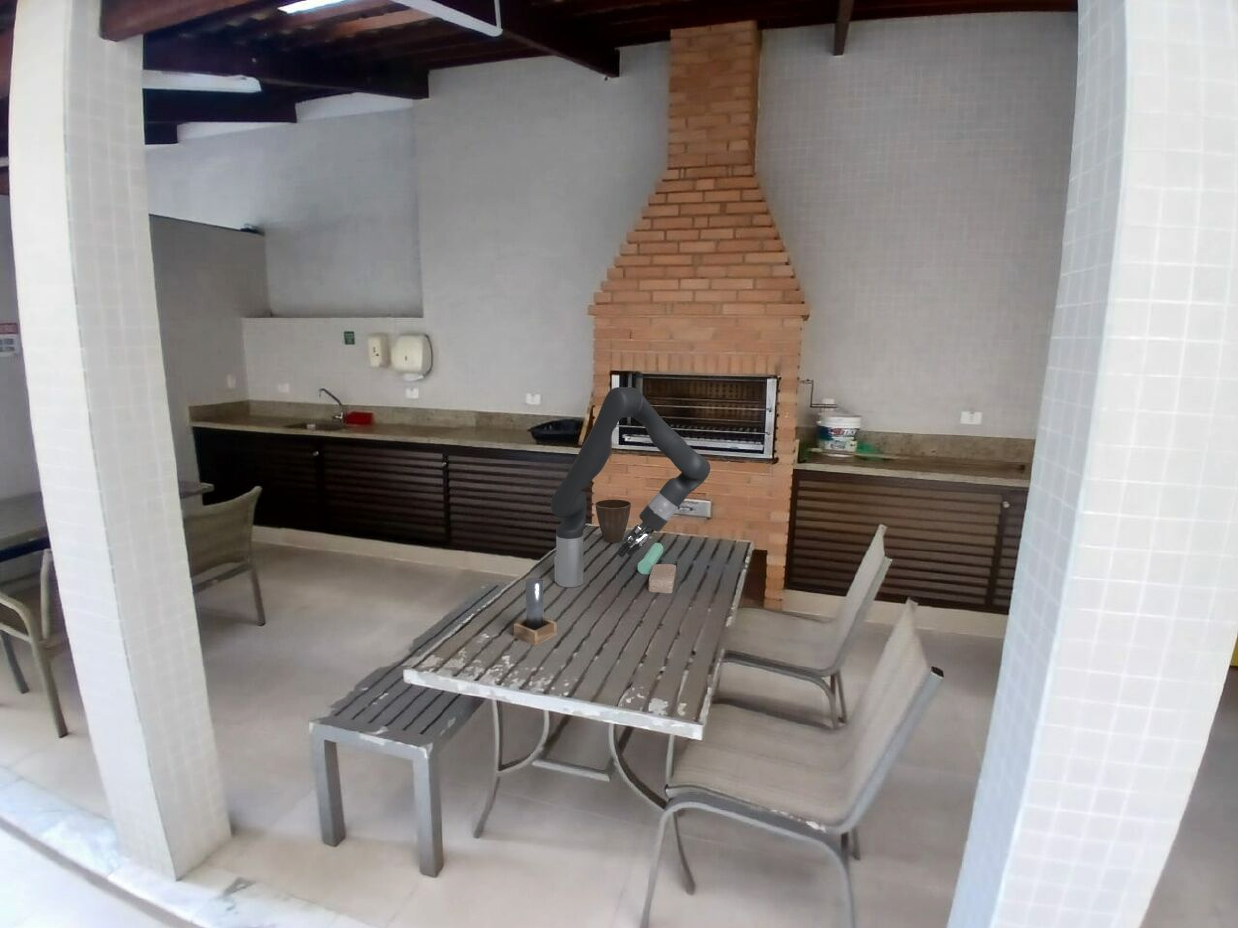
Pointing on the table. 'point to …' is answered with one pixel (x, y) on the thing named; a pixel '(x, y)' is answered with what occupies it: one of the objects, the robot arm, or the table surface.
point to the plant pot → (613, 518)
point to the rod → (534, 603)
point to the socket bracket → (535, 632)
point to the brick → (662, 578)
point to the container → (650, 559)
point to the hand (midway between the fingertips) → (623, 554)
